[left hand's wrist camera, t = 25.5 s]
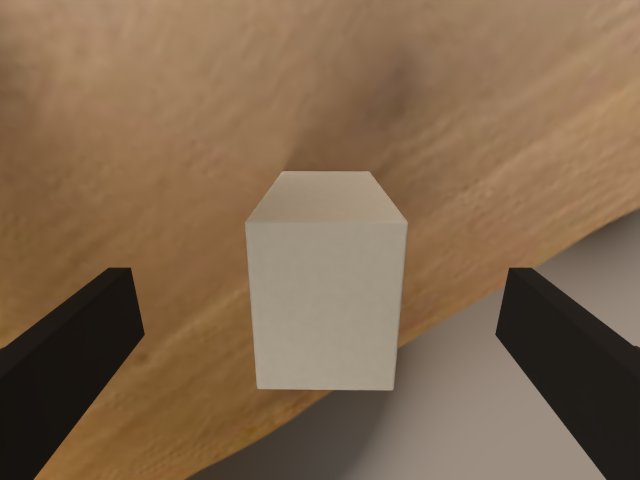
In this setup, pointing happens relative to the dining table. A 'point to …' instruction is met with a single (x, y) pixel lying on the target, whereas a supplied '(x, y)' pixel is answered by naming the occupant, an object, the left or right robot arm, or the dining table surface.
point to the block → (326, 282)
